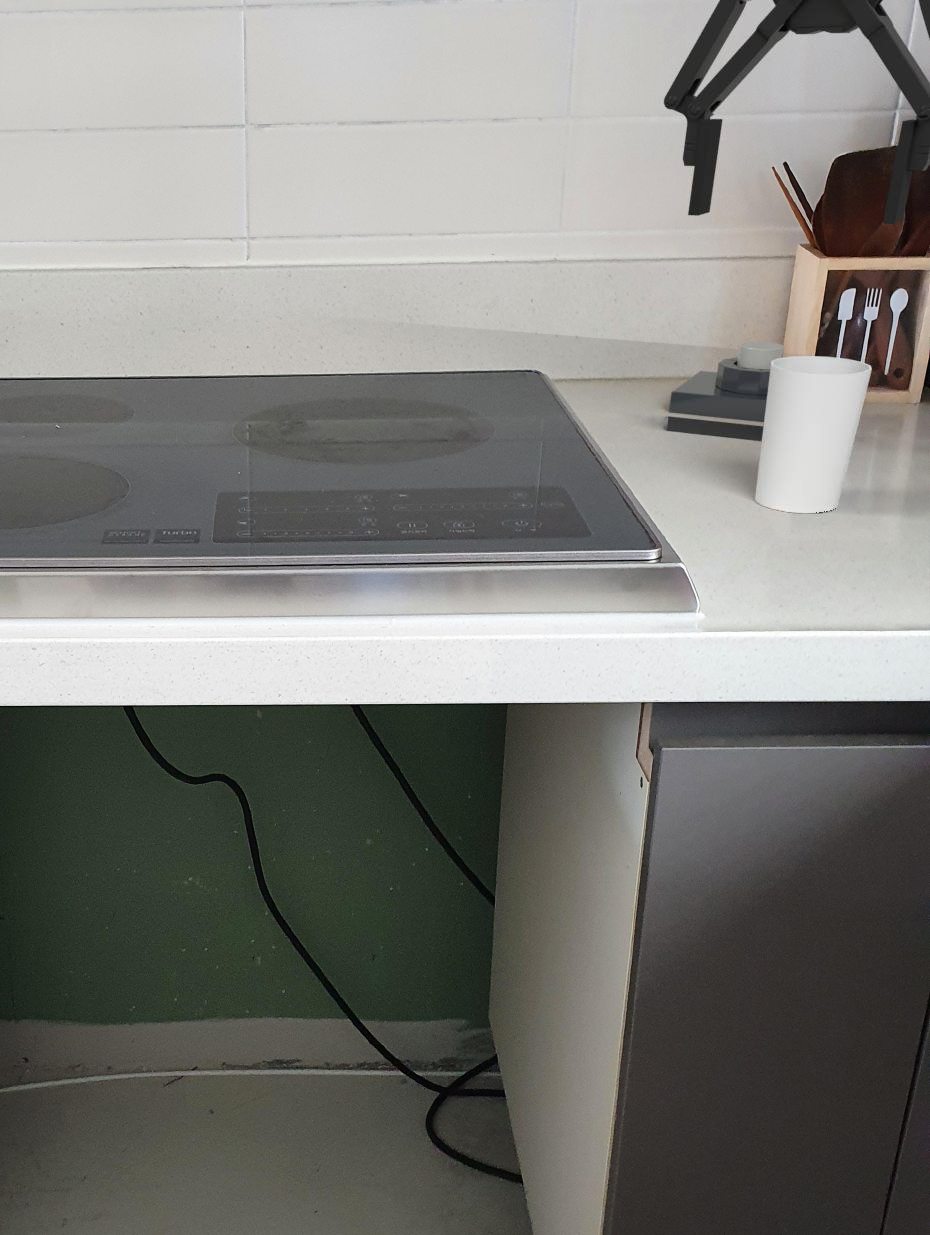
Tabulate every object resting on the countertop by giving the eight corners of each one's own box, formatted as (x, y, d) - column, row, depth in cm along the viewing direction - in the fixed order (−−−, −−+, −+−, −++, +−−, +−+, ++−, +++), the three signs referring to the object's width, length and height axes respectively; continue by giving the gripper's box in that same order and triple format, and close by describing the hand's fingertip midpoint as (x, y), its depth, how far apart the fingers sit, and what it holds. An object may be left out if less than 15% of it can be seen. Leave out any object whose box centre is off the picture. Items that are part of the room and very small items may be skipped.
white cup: (855, 516, 96) (883, 375, 92) (757, 513, 97) (781, 374, 93) (832, 490, 102) (858, 356, 98) (740, 488, 103) (762, 355, 99)
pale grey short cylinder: (784, 367, 118) (788, 343, 117) (775, 374, 116) (779, 350, 115) (741, 363, 120) (745, 340, 119) (732, 371, 117) (735, 347, 117)
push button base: (830, 421, 121) (842, 359, 119) (809, 447, 113) (821, 381, 111) (694, 408, 127) (702, 348, 124) (666, 431, 119) (674, 368, 117)
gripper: (643, -113, 93) (607, 215, 102) (1058, -151, 79) (972, 231, 89) (680, -104, 98) (643, 206, 108) (1074, -139, 85) (992, 220, 94)
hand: (792, 218), depth 98 cm, fingers open, 13 cm apart
